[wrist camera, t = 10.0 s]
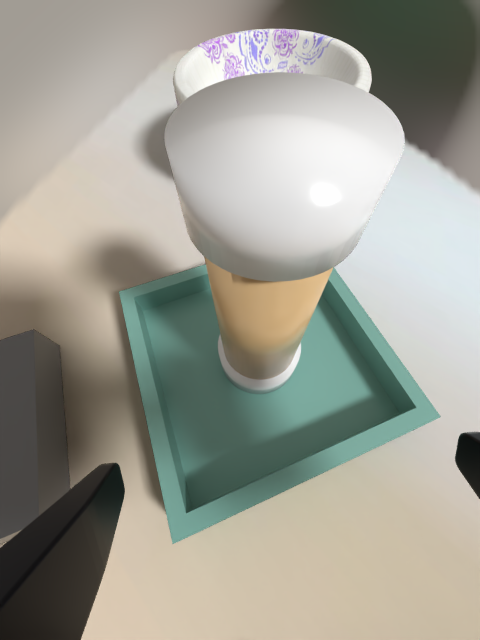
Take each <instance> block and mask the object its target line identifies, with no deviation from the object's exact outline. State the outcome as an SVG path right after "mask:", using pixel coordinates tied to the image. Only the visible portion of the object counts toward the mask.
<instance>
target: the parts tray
mask: <svg viewBox="0 0 480 640" xmlns="http://www.w3.org/2000/svg"><path fill="white" fill-rule="evenodd" d="M119 294H120V299H121V303H122V308H123V313H124V318H125V322H126V327H127V332H128V336H129V341H130V346H131V350H132V355H133V360H134V364H135V369H136V374H137V378H138V383H139V388H140V392H141V397H142V402H143V407H144V411H145V416H146V421H147V425H148V430H149V435H150V439H151V444H152V449H153V453H154V458H155V463H156V467H157V472H158V477H159V482H160V486H161V491H162V496H163V500H164V505H165V510H166V514H167V519H168V524H169V528H170V533H171V538H172V542H173V544H174V543H176V542H178V541H180V540H183V539H185V538H187V537H189V536H191V535H193V534H195V533H197V532H199V531H202V530H204V529H206V528H208V527H210V526H212V525H214V524H216V523H218V522H220V521H223V520H225V519H227V518H229V517H231V516H233V515H235V514H237V513H239V512H242V511H244V510H246V509H248V508H250V507H252V506H254V505H256V504H258V503H261V502H263V501H265V500H267V499H269V498H271V497H273V496H275V495H277V494H279V493H282V492H284V491H286V490H288V489H290V488H292V487H294V486H296V485H298V484H301V483H303V482H305V481H307V480H309V479H311V478H313V477H315V476H317V475H320V474H322V473H324V472H326V471H328V470H330V469H332V468H334V467H336V466H338V465H341V464H343V463H345V462H347V461H349V460H351V459H353V458H355V457H357V456H360V455H362V454H364V453H366V452H368V451H370V450H372V449H374V448H376V447H379V446H381V445H383V444H385V443H387V442H389V441H391V440H393V439H395V438H397V437H400V436H402V435H404V434H406V433H408V432H410V431H412V430H414V429H416V428H419V427H421V426H423V425H425V424H427V423H429V422H431V421H433V420H435V419H438V418H440V417H441V416H440V415H439V414H438V412H437V411H436V409H435V408H434V407H433V405H432V404H431V403H430V401H429V400H428V398H427V397H426V396H425V394H424V393H423V391H422V390H421V389H420V387H419V386H418V384H417V383H416V382H415V380H414V379H413V377H412V376H411V375H410V373H409V372H408V370H407V369H406V368H405V366H404V365H403V363H402V362H401V361H400V359H399V358H398V356H397V355H396V354H395V352H394V351H393V349H392V348H391V347H390V345H389V344H388V342H387V341H386V340H385V338H384V337H383V335H382V334H381V333H380V331H379V330H378V328H377V327H376V326H375V324H374V323H373V321H372V320H371V319H370V317H369V316H368V315H367V313H366V312H365V310H364V309H363V308H362V306H361V305H360V303H359V302H358V301H357V299H356V298H355V296H354V295H353V294H352V292H351V291H350V289H349V288H348V287H347V285H346V284H345V282H344V281H343V280H342V278H341V277H340V275H339V274H338V273H337V271H336V270H335V268H334V267H333V270H332V272H331V274H330V276H329V279H328V281H327V283H326V285H325V288H324V290H323V292H322V295H321V297H320V299H319V301H318V304H317V306H316V308H315V310H314V313H313V315H312V317H311V320H310V322H309V324H308V326H307V329H306V331H305V333H304V335H303V338H302V340H301V354H300V358H299V361H298V363H297V365H296V367H295V369H294V371H293V373H292V375H291V377H290V379H289V380H288V381H287V382H286V383H285V384H284V385H283V386H282V387H281V388H279V389H278V390H276V391H273V392H270V393H267V394H251V393H247V392H245V391H242V390H240V389H238V388H237V387H236V386H234V385H233V384H232V383H231V382H230V381H229V380H228V378H227V377H226V375H225V373H224V371H223V368H222V364H221V361H220V357H219V353H218V340H219V336H220V330H219V326H218V321H217V316H216V311H215V306H214V301H213V297H212V292H211V287H210V282H209V277H208V272H207V268H206V264H205V265H202V266H199V267H196V268H192V269H189V270H186V271H183V272H180V273H177V274H173V275H170V276H167V277H164V278H161V279H157V280H154V281H151V282H148V283H145V284H142V285H138V286H135V287H132V288H129V289H126V290H122V291H119Z"/></svg>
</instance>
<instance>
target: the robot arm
mask: <svg viewBox="0 0 480 640" xmlns="http://www.w3.org/2000/svg"><path fill="white" fill-rule="evenodd" d="M455 461H456V464H457V467H458V468H459V470H460V472H461V473H462V474H463V476H464V477H465V479H466V480H467V482H468V483H469V484H470V486H471V487H472V489H473V490H474V492H475V493H476V495H477V496H478V497H479V499H480V432H467V433H462V434H461V435H460V436H459V439H458V445H457V450H456V456H455ZM124 494H125V488H124V483H123V479H122V475H121V470H120V467H119V465H118V464H117V463H107V464H101V465H99V466H98V467H97V468H96V469H94V470H93V471H92V472H91V473H90V474H88V475H87V476H86V477H85V478H84V479H82V480H81V481H80V482H79V483H78V484H76V485H75V486H74V487H73V488H72V489H70V490H69V491H68V492H67V493H66V494H64V495H63V496H62V497H61V498H60V499H58V500H57V501H56V502H55V503H54V504H52V505H51V506H50V507H49V508H48V509H46V510H45V511H44V512H43V513H42V514H40V515H39V516H38V517H37V518H36V519H34V520H33V521H32V522H31V523H30V524H28V525H27V526H26V527H25V528H24V529H22V530H21V531H20V532H19V533H18V534H16V535H15V536H14V537H13V538H12V539H10V540H9V541H8V542H7V543H6V544H4V545H3V546H2V547H1V548H0V640H81V637H82V634H83V632H84V629H85V626H86V623H87V620H88V617H89V615H90V612H91V609H92V606H93V603H94V600H95V598H96V595H97V592H98V589H99V586H100V583H101V580H102V577H103V574H104V571H105V568H106V565H107V561H108V557H109V554H110V550H111V546H112V542H113V538H114V534H115V530H116V527H117V523H118V519H119V515H120V511H121V507H122V503H123V499H124Z"/></svg>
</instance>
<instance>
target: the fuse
mask: <svg viewBox="0 0 480 640" xmlns="http://www.w3.org/2000/svg"><path fill="white" fill-rule="evenodd" d="M164 142H165V146H166V150H167V154H168V158H169V162H170V166H171V170H172V174H173V178H174V181H175V185H176V189H177V193H178V197H179V201H180V205H181V209H182V213H183V216H184V220H185V224H186V228H187V232H188V234H189V237H190V239H191V241H192V242H193V244H194V245H195V247H196V248H197V249H198V250H199V251H200V253H201V254H202V255H203V256H204V258H205V263H206V268H207V272H208V277H209V282H210V287H211V292H212V297H213V301H214V306H215V311H216V316H217V321H218V326H219V330H220V336H219V340H218V353H219V357H220V361H221V364H222V368H223V371H224V373H225V375H226V377H227V378H228V380H229V381H230V382H231V383H232V384H233V385H234V386H236V387H237V388H238V389H240V390H242V391H245V392H247V393H251V394H267V393H270V392H273V391H276V390H278V389H279V388H281V387H282V386H283V385H284V384H285V383H286V382H287V381H288V380H289V379H290V377H291V375H292V373H293V371H294V369H295V367H296V365H297V363H298V361H299V358H300V354H301V340H302V338H303V335H304V333H305V331H306V329H307V326H308V324H309V322H310V320H311V317H312V315H313V313H314V310H315V308H316V306H317V304H318V301H319V299H320V297H321V295H322V292H323V290H324V288H325V285H326V283H327V281H328V279H329V276H330V274H331V272H332V270H333V267H335V266H336V265H338V264H339V263H340V262H342V261H343V260H344V259H345V258H346V257H347V256H348V255H349V254H350V253H351V252H352V251H353V250H354V248H355V247H356V245H357V244H358V242H359V240H360V238H361V236H362V234H363V232H364V230H365V228H366V226H367V224H368V222H369V220H370V218H371V216H372V214H373V212H374V210H375V208H376V206H377V204H378V202H379V200H380V198H381V196H382V194H383V192H384V190H385V188H386V186H387V184H388V182H389V180H390V178H391V176H392V174H393V172H394V170H395V168H396V166H397V164H398V162H399V160H400V158H401V156H402V153H403V149H404V144H405V141H404V132H403V129H402V126H401V124H400V122H399V121H398V118H397V117H396V115H395V114H394V113H393V112H392V111H391V109H390V108H388V107H387V106H386V105H385V104H384V103H383V102H382V101H380V100H379V99H378V98H376V97H375V96H373V95H371V94H370V93H368V92H366V91H364V90H362V89H360V88H358V87H356V86H353V85H351V84H348V83H345V82H342V81H339V80H335V79H332V78H327V77H323V76H318V75H311V74H303V73H288V72H274V73H259V74H251V75H244V76H239V77H235V78H231V79H227V80H224V81H221V82H218V83H215V84H212V85H210V86H207V87H205V88H203V89H201V90H199V91H197V92H196V93H194V94H193V95H191V96H189V97H188V98H187V99H186V100H184V101H183V102H182V103H181V104H180V105H179V106H178V107H177V108H176V109H175V110H174V112H173V113H172V114H171V116H170V117H169V120H168V122H167V124H166V128H165V132H164Z"/></svg>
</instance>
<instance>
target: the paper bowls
mask: <svg viewBox="0 0 480 640" xmlns="http://www.w3.org/2000/svg"><path fill="white" fill-rule="evenodd" d="M274 72H288V73H303V74H311V75H318V76H323V77H327V78H332V79H335V80H339V81H342V82H345V83H348V84H351V85H353V86H356V87H358V88H360V89H362V90H364V91H366V92H369V89H370V85H371V81H372V79H371V70H370V67H369V64H368V62H367V61H366V59H365V58H364V56H363V55H362V54H361V53H359V52H358V51H357V50H356V49H354V48H353V47H351V46H350V45H348V44H346V43H344V42H342V41H340V40H337V39H334V38H332V37H329V36H326V35H322V34H318V33H314V32H309V31H302V30H290V29H258V30H248V31H241V32H235V33H231V34H227V35H223V36H220V37H217V38H214V39H211V40H208V41H206V42H203V43H202V44H199V45H198V46H196V47H194V48H193V49H191V50H190V51H189V52H188V53H187V54H186V55H185V56H184V57H183V58H182V59H181V60H180V61H179V63H178V64H177V66H176V69H175V72H174V77H173V85H174V88H175V95H176V101H177V105H178V106H179V105H180V104H181V103H182V102H183V101H184V100H186V99H187V98H188V97H189V96H191V95H193V94H194V93H196V92H197V91H199V90H201V89H203V88H205V87H207V86H210V85H212V84H215V83H218V82H221V81H224V80H227V79H231V78H235V77H239V76H244V75H251V74H259V73H274Z"/></svg>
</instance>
